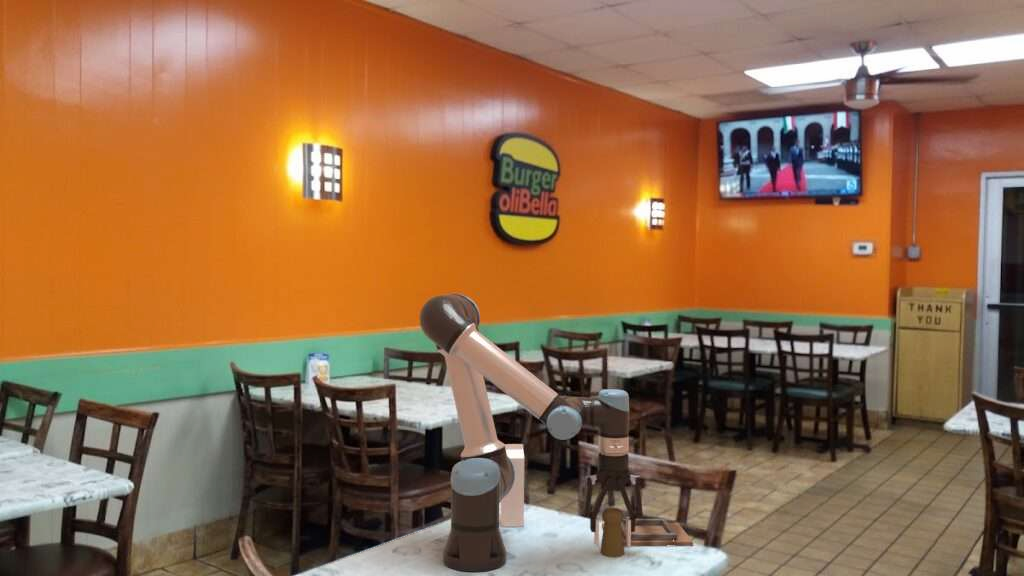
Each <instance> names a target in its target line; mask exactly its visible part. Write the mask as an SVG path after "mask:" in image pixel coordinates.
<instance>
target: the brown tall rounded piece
mask: <svg viewBox="0 0 1024 576" xmlns="http://www.w3.org/2000/svg"><path fill="white" fill-rule="evenodd" d="M601 518H602V520H603V523H604V529H603V528H602V537H601V543H600V545H601V546H600V550H599V554H601V556H604V557H606V558H607V557H608V558H621V557H624V555H625V546H624V545H623V536H622V528H621V522H622V521H623V519H624V513H623V511H622V510H621V509H619V508H617V507H608V508H605V509H604V510H603V511H602V515H601Z"/></svg>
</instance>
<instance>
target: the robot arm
mask: <svg viewBox="0 0 1024 576" xmlns="http://www.w3.org/2000/svg"><path fill="white" fill-rule="evenodd" d="M418 319H419V321H418V322H419V325H420V329H421V331H422V332H423V334H424V335H425V337H427V338H428V339H429V340H430V341H431V342H432V343H434V344H435V346H436V350H437V352H438V353H440V354H441V355H442V356H443V357H444V359H445V364H446V368H447V372H448V373H447V374H448V378H449V381H450V387H451V392H452V396H453V399H454V404H455V408H456V413H457V418H458V422H459V427H460V431H461V435H462V439H463V440H462V441H463V443H464V448H463V450H462V451H461V454H460V458H461V461H459V462H457V463H455V464H454V466H453V467H452V470H451V474H450V530H449V534H448V536H447V540H446V542H445V546H444V549H443V555H442V556H443V557H442V558H443V560H442V561H443V564H444V565H445V566H446V567H448V568H450V569H453V570H457V571H462V572H486V571H487V572H488V571H491V570H495V569H499V568H501V567H502V566H503V565H505V564H506V562H507V549H506V546H505V543H504V539H503V536H502V533H501V530H500V504H501V500H502V499H503V497H505V496H506V495H507V494H508V493H509V491H510V490H511V488H512V486H513V483H514V480H515V468H514V465H513V462H512V461H511V459H510V458H509V457H508V456H507V453H506V448H505V445H504V444H505V443H504V442H502V441H501V440H499V439H498V436H497V435H498V434H497V431H496V426H495V423H494V418H493V413H492V409H491V406H490V405H491V404H490V400H489V397H488V396H489V395H488V391H487V387H486V382H485V379H487V380H488V381H489V382H491V383H492V384H493V385H495V387H497V388H498V389H499V390H501V391H502V392H503V393H504V394H506V395H507V396H508V397H510V398H511V399H512V400H513V401H515V402H516V403H517V404H519V405H520V406H521V407H522V408H524V409H525V410H526V411H527V412H528V413H530V414H531V415H532V416H534V417H535V418H537V419H538V420H539V421H540V422H542V424H544V425H545V426H547V427H546V428H547V431H548V432H549V433H550V435H551V436H552V437H553V438H555V439H557V440H562V441H565V440H570V439H572V438H574V437H575V436H576V435H577V434H579V432H581V429H582V428H583V429H584V428H585V429H586V428H587V429H588V428H591V429H598V430H597V431H598V434H597V435H598V436H597V437H598V439H597V440H598V442H597V443H598V445H597V451H598V454H597V471H596V473H595V474H593V475H589V474H587V475H585V477H584V479H585V482H586V487H585V495H584V501H583V509H582V513H583V516H584V517H585V518H588V519H589V529H590V532H591V533H594V535H593V536H594V538H593V540H594V543H593V544H594V545H595V547H597V548H599V546H600V519H599V517H598V514H599V512H600V509H601V507H602V503H603V502H604V499H605V497H606V495H607V493H608V492H612V491H615V492H620V495H621V497H622V500H623V503H624V505H625V508H626V511H627V513H628V515H629V516H626V517H625V519H626V544H627V546H626V547H632V546H631V532H634V531H635V520H636V519H639V518H642V517H643V515H644V513H643V505H642V497H641V496H642V495H641V489H640V486H641V483H642V478H641V477H640V475H638V474H636V475H633V474H630V470H629V462H630V460H629V459H630V458H629V457H630V456H629V454H628V452H629V451H630V449H629V447H630V445H629V443H630V442H629V441H630V439H629V436H630V434H629V433H630V431H629V430H630V396H629V393H628V392H627V391H626V390H622V389H616V388H615V389H614V388H613V389H612V388H611V389H610V388H609V389H606V388H605V389H601V390H599V392H598V396H595V397H587V396H586V397H583V396H567V395H563V396H562V395H559V393H558V392H556V391H555V390H554V389H552V388H551V387H550V386H548V385H547V384H546V383H545V382H543V381H542V380H541V379H539V378H538V377H537V376H536V375H534V374H533V373H532V372H531V371H529V370H528V369H527V368H525V367H524V366H523V365H521V364H520V363H519V362H518V361H516V360H515V359H514V358H513V357H511V356H510V354H507V353H506V352H505V351H504V350H502V349H501V348H500V347H498V346H497V345H496V344H495V343H493V342H492V341H491V340H489V339H488V338H487V337H486V336H484V335H483V334H482V333H481V332H480V330H479V325H480V322H481V314H480V310H479V307H478V306H477V304H476V303H475V302H474V300H472V299H471V298H469V297H468V296H466V295H463V294H459V293H452V294H451V293H450V294H441V295H436V296H433V297H431V298H429V299H428V300H427V301H426V302H425V303H424V304H423V305H422V308H421V309H420V312H419V318H418ZM596 481H597V482H598V483H599V484H600V487H599V490H598V493H597V496H596V499H595V500H594V503H593V505H592V509H591V502H592V496H593V491H594V490H593V485H595V484H596ZM629 481H630V482H631V484H632V488H633V497H634V506H635V510H634V509H633V506H632V504H631V501H630V499H629V496H628V493H627V490H626V488H625V486H626V485H627V484H628V482H629ZM590 509H591V510H590Z"/></svg>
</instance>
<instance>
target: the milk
mask: <svg viewBox="0 0 1024 576" xmlns="http://www.w3.org/2000/svg"><path fill="white" fill-rule="evenodd" d="M504 445H505V448H506V453H507V456H508V457H509V458H510V459H511V461H512V462H513V465H514V468H515V480H514V483H513V486H512V488H511V490H510V491H509V493H508V494H507V495H506V496H505V497H503V499H502V500H501V501H500V523H501V527H502V528H516V527H517V528H519V527H520V528H521V527H522V528H523V527H524V525H525V521H524V520H525V453H524V444H523V443H512V444H511V443H508V444H507V443H506V444H505V443H504Z"/></svg>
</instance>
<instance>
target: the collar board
mask: <svg viewBox="0 0 1024 576" xmlns="http://www.w3.org/2000/svg"><path fill="white" fill-rule="evenodd" d="M601 527H602V530H603V529H604V522H602V523H601ZM621 528H622V536H623V545H624V547H628V546H627V544H626V518H623V521H622V522H621ZM673 540H674V541H673ZM667 545H675V546H674V547H694V541H693V540H692V539H691V537H690V536H689V535H688V534H687V532H686V531H685V530H684V528H683V527H682V526H681V524H680V522H669V521H668V520H667V519H666V518H636V520H635V531H634V532H631V547H668V546H667Z"/></svg>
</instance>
